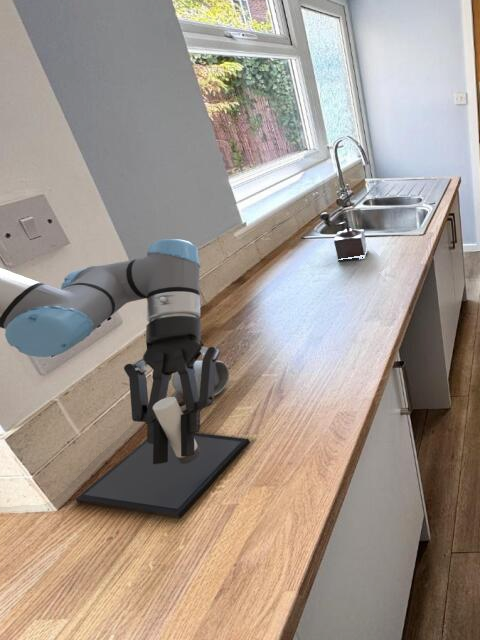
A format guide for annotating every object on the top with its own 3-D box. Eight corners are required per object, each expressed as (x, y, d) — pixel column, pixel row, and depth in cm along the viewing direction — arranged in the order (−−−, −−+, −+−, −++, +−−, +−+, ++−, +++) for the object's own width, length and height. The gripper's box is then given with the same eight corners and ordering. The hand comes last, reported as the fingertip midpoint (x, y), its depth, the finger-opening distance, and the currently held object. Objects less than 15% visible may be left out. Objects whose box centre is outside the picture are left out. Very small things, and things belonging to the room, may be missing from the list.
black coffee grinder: (368, 249, 169) (360, 208, 162) (365, 259, 159) (357, 216, 152) (329, 253, 167) (319, 211, 159) (324, 264, 157) (313, 220, 149)
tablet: (77, 503, 68) (74, 498, 67) (161, 432, 81) (159, 428, 81) (180, 518, 64) (177, 514, 64) (249, 442, 78) (248, 438, 78)
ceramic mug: (203, 378, 96) (191, 352, 93) (234, 380, 95) (223, 354, 92) (162, 411, 86) (148, 384, 83) (196, 415, 85) (182, 386, 82)
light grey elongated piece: (174, 462, 69) (147, 409, 64) (190, 448, 72) (165, 395, 67) (189, 464, 68) (163, 410, 64) (204, 450, 71) (180, 397, 66)
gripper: (105, 325, 67) (96, 478, 59) (217, 305, 72) (222, 444, 65) (132, 335, 74) (127, 474, 66) (233, 316, 79) (239, 443, 71)
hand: (174, 458), depth 65 cm, fingers closed on light grey elongated piece, 3 cm apart
